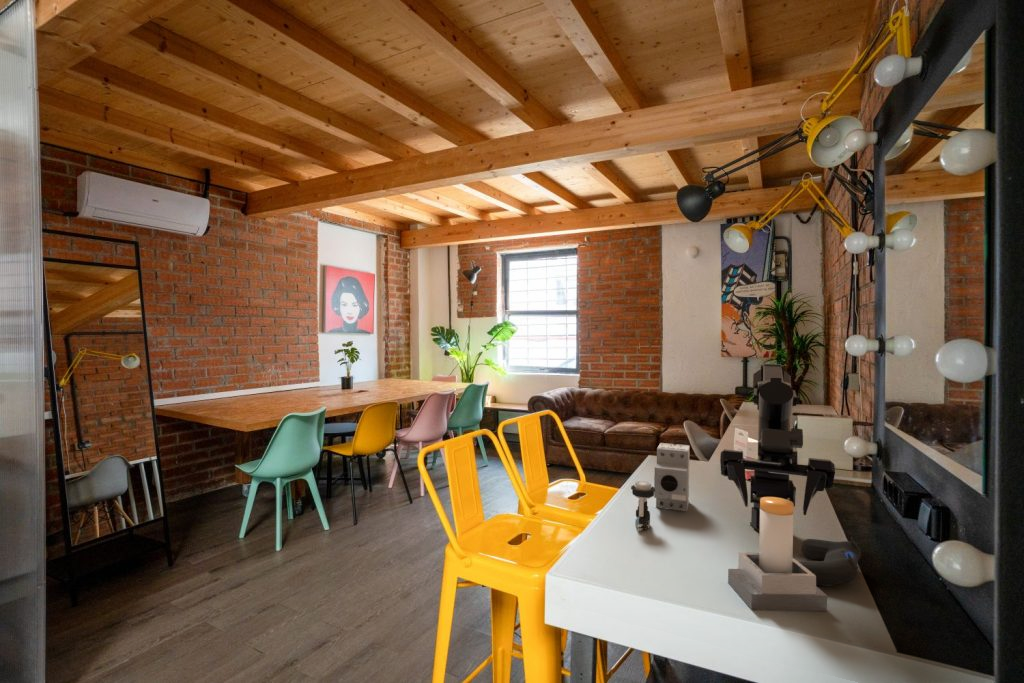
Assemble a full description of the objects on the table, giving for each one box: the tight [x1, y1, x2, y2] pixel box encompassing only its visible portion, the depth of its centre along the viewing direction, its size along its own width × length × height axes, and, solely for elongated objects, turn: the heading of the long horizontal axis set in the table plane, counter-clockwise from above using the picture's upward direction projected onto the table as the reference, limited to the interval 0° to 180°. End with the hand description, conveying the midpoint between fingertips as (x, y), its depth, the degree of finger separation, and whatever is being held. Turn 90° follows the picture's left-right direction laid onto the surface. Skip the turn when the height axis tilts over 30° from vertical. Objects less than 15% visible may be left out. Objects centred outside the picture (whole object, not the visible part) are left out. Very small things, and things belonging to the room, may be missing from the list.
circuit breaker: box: [653, 442, 691, 512], centre depth 130 cm, size 8×14×15 cm, turn 158°
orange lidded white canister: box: [758, 497, 795, 573], centre depth 86 cm, size 5×5×14 cm
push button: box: [630, 480, 655, 532], centre depth 117 cm, size 7×5×10 cm
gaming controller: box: [798, 536, 862, 586], centre depth 95 cm, size 17×6×10 cm
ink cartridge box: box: [733, 427, 758, 481], centre depth 161 cm, size 9×5×15 cm, turn 5°
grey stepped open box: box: [727, 552, 828, 612], centre depth 86 cm, size 12×9×6 cm
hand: (775, 509), depth 91 cm, fingers open, 9 cm apart
